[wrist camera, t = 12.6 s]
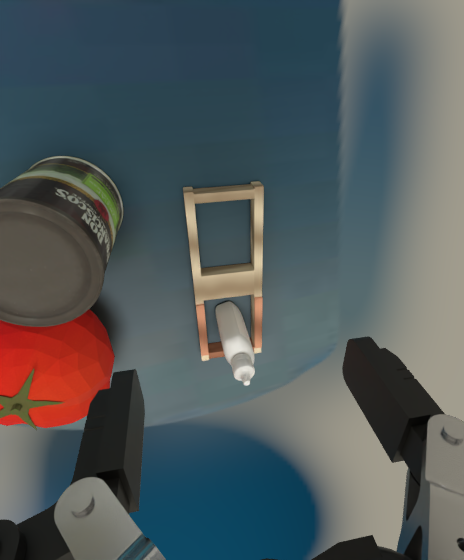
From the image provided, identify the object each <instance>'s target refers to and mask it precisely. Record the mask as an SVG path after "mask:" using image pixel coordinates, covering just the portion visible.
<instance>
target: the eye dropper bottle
mask: <svg viewBox="0 0 464 560" xmlns="http://www.w3.org/2000/svg"><path fill="white" fill-rule="evenodd" d="M216 319H217V323H218V328H219V333H220V338H221V342H222V347H223V351H224V355H225V357H226V359H227V361H228V362H229V364H230V365H231V366H232V369H233V374H234V377H235V378H236V379H237V380H239V381H243V383H244V385H249V384H250V378H252V377H253V376H254V373H255V369H254V366H253V363H254V351H253V348H252V345H251V341H250V338H249V335H248V332H247V329H246V326H245V323H244V319H243V316H242V314H241V312H240V310H239V309H238V307H237V306H236V305H235V304H234V303H232V302H230V301H228V302H225V303H222V304H220V305H218V306H217V307H216Z"/></svg>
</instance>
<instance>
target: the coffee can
mask: <svg viewBox="0 0 464 560" xmlns="http://www.w3.org/2000/svg"><path fill="white" fill-rule="evenodd" d="M122 219H123V204H122V199H121V196H120V193H119V191H118V189H117V187H116V185H115V184H114V183H113V181H112V180H111V179H110V178H109V177H108V176H107V175H106V174H105V173H104V172H103V171H102V170H101V169H99V168H98V167H96V166H95V165H93V164H91V163H89V162H87V161H85V160H82V159H79V158H75V157H69V156H55V157H50V158H46V159H44V160H41V161H39V162H37V163H36V164H34V165H33V166H32V167H31V168H30V169H29V170H27V171H26V172H24V173H23V174H21V175H20V176H18V177H17V178H15V179H14V180H12V181H11V182H9V183H8V184H6V185H5V186H3V187H2V188H0V320H2V321H5V322H8V323H12V324H16V325H22V326H30V327H48V326H55V325H60V324H64V323H67V322H69V321H72V320H74V319H76V318H77V317H79V316H81V315H82V314H84V313H85V312H86V311H87V310H89V309H90V308H91V307H92V306H93V304H94V303H95V302H96V300H97V298H98V297H99V295H100V292H101V290H102V286H103V281H104V273H105V270H106V267H107V264H108V260H109V257H110V254H111V251H112V248H113V245H114V242H115V238H116V235H117V232H118V230H119V228H120V225H121V222H122Z"/></svg>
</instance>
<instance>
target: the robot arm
mask: <svg viewBox="0 0 464 560" xmlns="http://www.w3.org/2000/svg"><path fill="white" fill-rule="evenodd" d="M343 376H344V380H345V382H346V384H347V386H348V388H349V389H350V391H351V393H352V394H353V396H354V398H355V400H356V401H357V403H358V405H359V407H360V408H361V410H362V412H363V413H364V415H365V417H366V419H367V420H368V422H369V424H370V425H371V427H372V429H373V431H374V432H375V434H376V436H377V437H378V439H379V441H380V443H381V444H382V446H383V448H384V450H385V451H386V453H387V455H388V456H389V458H390V460H391V461H392V462H393V463H394V462H399V461H405V463H406V464H407V466H408V470H407V475H406V487H405V498H404V509H403V520H402V528H401V533H400V537H399V541H398V545H397V551H394V550H391V549H388V548H384V547H379V546H377V544H376V542H375V540H374V538H373V535H371V536H366V537H361V538H357V539H353V540H348V541H343V542H339V543H337V544H336V545H334V546H332V547H331V548H329V549H328V550H326V551H325V552H323V553H321V554H320V555H318V556H317V557H315V558H313V559H312V560H464V422H463V421H462V420H460V419H458V418H456V417H453V416H450V415H446V414H444V412H443V411H442V410H441V409H440V408H439V406H438V405H437V404H436V403H435V401H434V400H433V399H432V398H431V397H430V395H429V394H428V393H427V392H426V390H425V389H424V388H423V387H422V386H421V384H420V383H419V382H418V381H417V380H416V379H414V376H413V375H412V373H411V372H410V371H409V370H407V367H406V366H405V365H404V364H403V362H402V361H401V360H400V359H399V358H398V357H397V356H396V355H394V354H393V353H391V352H390V351H389V350H387V349H386V348H382V349H380V348H379V347H378V346H377V344H376V343H375V342H374V341H373V339H372V338H370V337H362V338H355V339H349V340H348V342H347V347H346V353H345V357H344V362H343ZM144 416H145V409H144V399H143V395H142V391H141V387H140V383H139V379H138V375H137V371H136V370H135V369H134V370H127V371H120V372H114V373H113V376H112V382H111V388H109V389H102V390H99V391H98V392H97V394H96V395H95V397H94V398H93V400H92V401H91V403H90V406H89V410H88V414H87V420H86V423H85V428H84V433H83V437H82V441H81V446H80V450H79V454H78V458H77V463H76V467H75V471H74V476H73V479H72V482H71V484H70V486H69V487H68V488H67V489H66V490H65V491H64V493H63V494H62V495H61V497H60V499H59V500H58V501H57V502H56V503H55V504H54V505H52V506H51V507H50V508H48V509H46V510H45V511H43V512H41V513H39V514H37V515H35V516H33V517H31V518H29V519H27V520H25V521H23V522H21V523H19V524H17V525H16V524H15V523H14V522H12V521H10V520H0V560H165V558H164V557H163V556H162V554H161V553H160V551H159V550H158V549H157V547H156V546H155V545H154V544H153V542H152V541H151V540H150V539H149V538H146V537H145V536H144V535H143V534H142V532H141V531H140V530H139V528H138V527H137V526H136V524H135V523H134V521H133V520H132V519H131V517H130V516H129V513H130V512H136V511H139V497H140V481H141V465H142V464H141V463H142V447H143V432H144ZM262 560H275V559H262Z"/></svg>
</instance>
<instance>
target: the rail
mask: <svg viewBox="0 0 464 560" xmlns="http://www.w3.org/2000/svg"><path fill="white" fill-rule="evenodd" d="M183 193H184V202H185V211H186V220H187V229H188V239H189V248H190V257H191V266H192V275H193V284H194V293H195V303H196V312H197V321H198V330H199V339H200V348H201V357H202V361H205V360H209V359H210V358H217V357H224V356H225V355H224V351H223V347H222V342H216V343H209V344H208V342H207V331H206V320H205V310H204V300H211V299H219V298H227V297H236V296H244V295H251V338H250V341H251V345H252V348H253V351H254V353H261V347H262V259H263V198H264V186H263V185H262V184H261V183H260V181H256V182H251V184H246V185H234V186H222V187H209V188H197V189H193V188H192V187H183ZM243 199H251V263H244V264H235V265H226V266H217V267H208V268H200V257H199V247H198V236H197V225H196V215H195V204H197V203H208V202H220V201H231V200H243Z"/></svg>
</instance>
